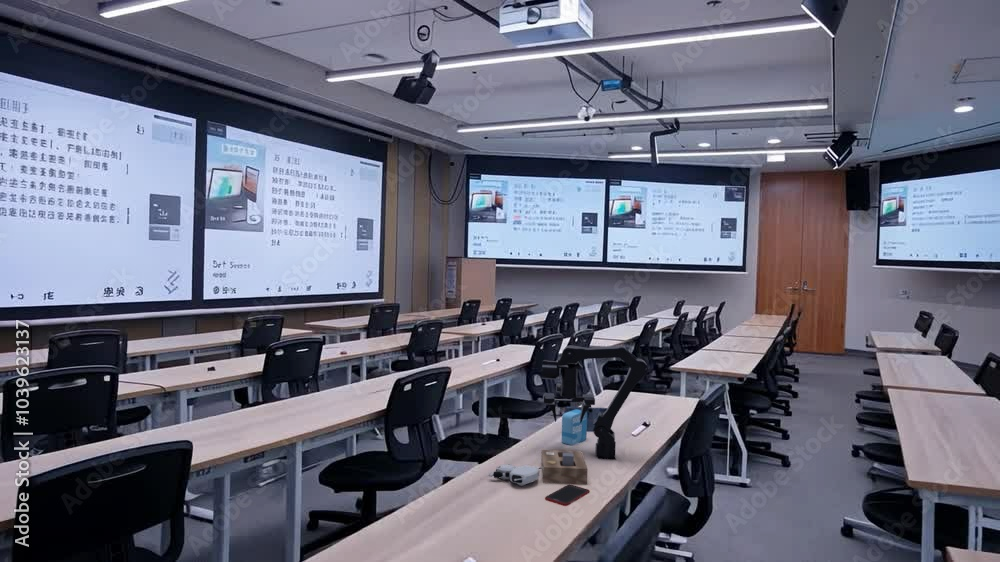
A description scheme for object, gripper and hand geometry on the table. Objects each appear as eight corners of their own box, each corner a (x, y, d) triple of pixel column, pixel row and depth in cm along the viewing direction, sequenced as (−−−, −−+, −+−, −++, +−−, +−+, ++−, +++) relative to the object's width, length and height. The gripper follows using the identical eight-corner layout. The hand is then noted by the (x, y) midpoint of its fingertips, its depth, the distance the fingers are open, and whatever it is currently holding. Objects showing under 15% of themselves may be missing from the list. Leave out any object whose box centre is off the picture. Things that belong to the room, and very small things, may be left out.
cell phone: (590, 493, 185) (590, 490, 185) (566, 507, 173) (566, 504, 173) (569, 486, 189) (569, 483, 189) (543, 500, 178) (543, 497, 178)
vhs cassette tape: (608, 430, 255) (608, 407, 255) (609, 432, 252) (609, 409, 252) (565, 429, 255) (565, 406, 255) (565, 431, 252) (566, 407, 252)
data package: (571, 446, 231) (571, 415, 230) (561, 444, 234) (562, 413, 233) (586, 440, 240) (587, 410, 240) (576, 437, 243) (577, 408, 243)
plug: (572, 477, 197) (572, 453, 197) (572, 480, 194) (573, 456, 194) (561, 476, 197) (562, 452, 197) (562, 480, 194) (563, 455, 194)
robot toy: (486, 484, 192) (527, 491, 184) (485, 470, 192) (526, 476, 184) (506, 473, 202) (545, 479, 194) (505, 459, 202) (545, 465, 194)
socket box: (581, 465, 209) (581, 450, 209) (587, 484, 191) (587, 467, 191) (541, 464, 209) (541, 449, 209) (543, 482, 191) (543, 466, 191)
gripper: (592, 376, 228) (590, 417, 228) (543, 375, 229) (541, 415, 229) (595, 382, 217) (594, 425, 217) (544, 380, 217) (543, 423, 218)
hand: (568, 422), depth 221 cm, fingers open, 9 cm apart
